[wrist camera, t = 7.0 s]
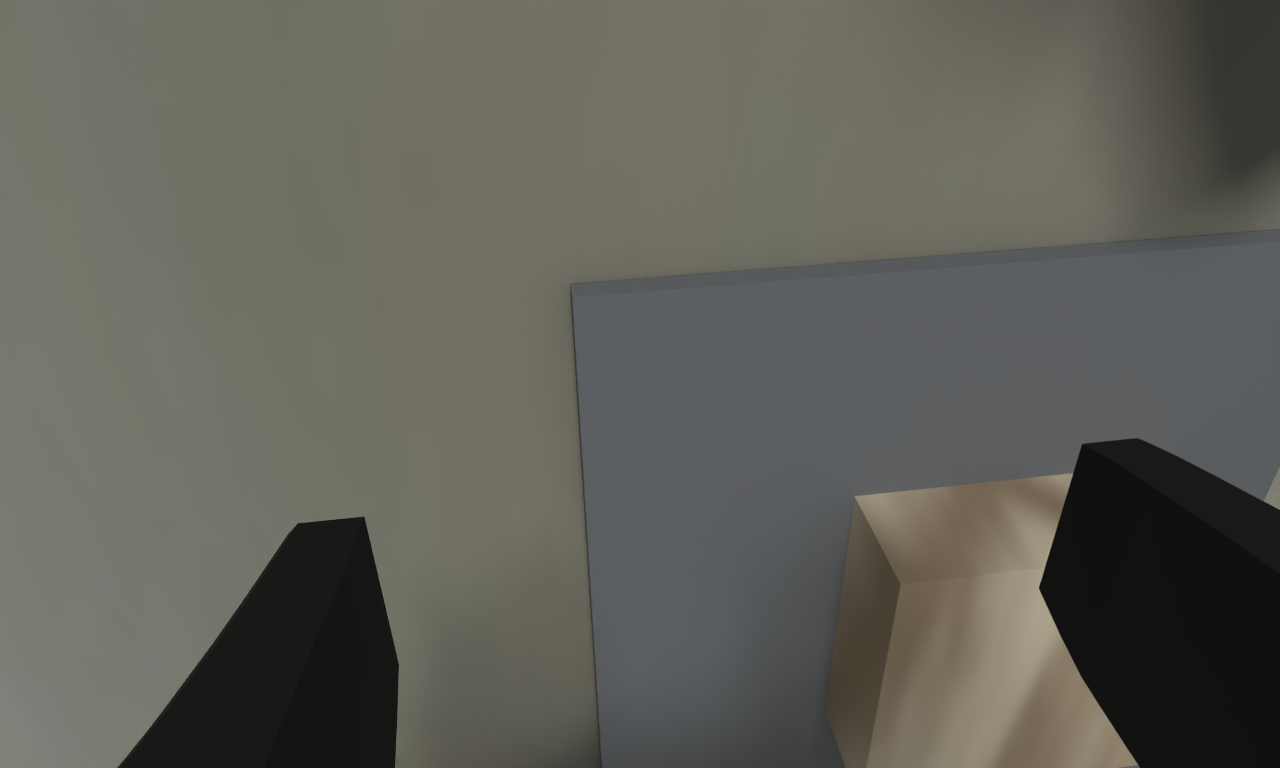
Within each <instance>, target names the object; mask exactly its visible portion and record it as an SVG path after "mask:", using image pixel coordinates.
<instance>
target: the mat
mask: <svg viewBox="0 0 1280 768" xmlns="http://www.w3.org/2000/svg"><path fill="white" fill-rule="evenodd" d="M570 290H571V306H572V322H573V337H574V353H575V368H576V384H577V400H578V415H579V431H580V446H581V462H582V478H583V493H584V509H585V524H586V540H587V556H588V571H589V587H590V602H591V618H592V634H593V649H594V665H595V680H596V696H597V712H598V727H599V743H600V758H601V768H846V767H845V764H844V761H843V759H842V756H841V753H840V751H839V748H838V745H837V742H836V740H835V737H834V734H833V731H832V729H831V726H830V723H829V721H828V718H827V715H826V712H825V704H826V697H827V690H828V683H829V676H830V669H831V661H832V654H833V647H834V640H835V633H836V626H837V619H838V612H839V604H840V597H841V590H842V583H843V576H844V569H845V562H846V555H847V547H848V540H849V533H850V526H851V519H852V512H853V505H854V498H855V496H862V495H872V494H881V493H891V492H900V491H910V490H919V489H929V488H938V487H948V486H957V485H967V484H976V483H986V482H995V481H1005V480H1014V479H1024V478H1033V477H1043V476H1052V475H1062V474H1071V473H1073V472H1074V469H1075V466H1076V462H1077V459H1078V456H1079V452H1080V449H1081V446H1082V444H1084V443H1093V442H1103V441H1113V440H1123V439H1133V438H1139V439H1141V440H1144V441H1146V442H1148V443H1150V444H1152V445H1155V446H1157V447H1159V448H1161V449H1163V450H1165V451H1167V452H1170V453H1172V454H1174V455H1176V456H1178V457H1180V458H1182V459H1184V460H1186V461H1188V462H1190V463H1192V464H1194V465H1196V466H1198V467H1199V468H1201V469H1203V470H1205V471H1207V472H1209V473H1211V474H1213V475H1215V476H1217V477H1219V478H1221V479H1222V480H1224V481H1226V482H1228V483H1230V484H1232V485H1234V486H1236V487H1238V488H1239V489H1241V490H1243V491H1245V492H1247V493H1249V494H1251V495H1253V496H1254V497H1256V498H1258V499H1260V500H1262V501H1264V499H1265V497H1266V495H1267V493H1268V490H1269V488H1270V486H1271V484H1272V482H1273V479H1274V477H1275V475H1276V473H1277V470H1278V468H1279V466H1280V229H1278V230H1265V231H1252V232H1239V233H1226V234H1213V235H1200V236H1187V237H1174V238H1161V239H1148V240H1135V241H1123V242H1110V243H1097V244H1084V245H1071V246H1058V247H1045V248H1032V249H1019V250H1006V251H993V252H980V253H967V254H954V255H941V256H928V257H915V258H903V259H890V260H877V261H864V262H851V263H838V264H825V265H812V266H799V267H786V268H773V269H760V270H747V271H734V272H721V273H708V274H696V275H683V276H670V277H657V278H644V279H631V280H618V281H605V282H592V283H579V284H570ZM1120 768H1140V767H1139V766H1138V765H1135V766H1127V767H1120Z"/></svg>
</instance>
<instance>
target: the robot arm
mask: <svg viewBox="0 0 1280 768" xmlns="http://www.w3.org/2000/svg"><path fill="white" fill-rule="evenodd" d="M1039 590H1040V592H1041V594H1042V597H1043V599H1044V601H1045V603H1046V605H1047V608H1048V610H1049V612H1050V614H1051V616H1052V618H1053V621H1054V623H1055V625H1056V627H1057V629H1058V632H1059V634H1060V636H1061V638H1062V640H1063V642H1064V644H1065V646H1066V648H1067V650H1068V652H1069V654H1070V656H1071V658H1072V660H1073V662H1074V664H1075V666H1076V668H1077V670H1078V672H1079V674H1080V676H1081V677H1082V679H1083V680H1084V682H1085V684H1086V685H1087V687H1088V688H1089V690H1090V692H1091V693H1092V695H1093V696H1094V698H1095V700H1096V701H1097V703H1098V704H1099V706H1100V707H1101V709H1102V710H1103V712H1104V714H1105V715H1106V717H1107V718H1108V720H1109V721H1110V723H1111V724H1112V726H1113V727H1114V729H1115V730H1116V732H1117V734H1118V735H1119V737H1120V738H1121V740H1122V741H1123V743H1124V744H1125V746H1126V747H1127V749H1128V751H1129V752H1130V754H1131V755H1132V757H1133V758H1134V760H1135V761H1136V763H1137V764H1138V766H1139V767H1140V768H1280V510H1279V509H1277V508H1275V507H1273V506H1271V505H1269V504H1267V503H1266V502H1264V501H1262V500H1260V499H1258V498H1256V497H1254V496H1253V495H1251V494H1249V493H1247V492H1245V491H1243V490H1241V489H1239V488H1238V487H1236V486H1234V485H1232V484H1230V483H1228V482H1226V481H1224V480H1222V479H1221V478H1219V477H1217V476H1215V475H1213V474H1211V473H1209V472H1207V471H1205V470H1203V469H1201V468H1199V467H1198V466H1196V465H1194V464H1192V463H1190V462H1188V461H1186V460H1184V459H1182V458H1180V457H1178V456H1176V455H1174V454H1172V453H1170V452H1167V451H1165V450H1163V449H1161V448H1159V447H1157V446H1155V445H1152V444H1150V443H1148V442H1146V441H1144V440H1141V439H1139V438H1133V439H1123V440H1113V441H1103V442H1093V443H1084V444H1082V446H1081V449H1080V452H1079V456H1078V459H1077V462H1076V466H1075V469H1074V472H1073V476H1072V479H1071V482H1070V486H1069V489H1068V492H1067V496H1066V499H1065V502H1064V506H1063V509H1062V512H1061V516H1060V519H1059V522H1058V526H1057V529H1056V532H1055V536H1054V539H1053V542H1052V546H1051V549H1050V552H1049V556H1048V559H1047V562H1046V566H1045V569H1044V572H1043V576H1042V579H1041V582H1040V586H1039ZM398 673H399V663H398V659H397V655H396V651H395V646H394V642H393V638H392V633H391V629H390V625H389V621H388V616H387V612H386V608H385V603H384V599H383V595H382V591H381V586H380V582H379V578H378V573H377V569H376V565H375V561H374V556H373V552H372V548H371V543H370V539H369V535H368V530H367V526H366V522H365V518H364V517H357V518H347V519H337V520H327V521H317V522H308V523H298V524H297V525H296V526H295V527H294V528H293V530H292V531H291V532H290V533H289V534H288V535H287V537H286V538H285V540H284V541H283V543H282V544H281V546H280V547H279V548H278V550H277V551H276V553H275V554H274V556H273V557H272V559H271V560H270V562H269V563H268V565H267V566H266V568H265V569H264V571H263V572H262V574H261V575H260V577H259V578H258V580H257V581H256V583H255V584H254V585H253V587H252V588H251V590H250V591H249V593H248V594H247V596H246V597H245V599H244V600H243V601H242V603H241V604H240V606H239V607H238V609H237V610H236V611H235V613H234V614H233V616H232V617H231V619H230V620H229V621H228V623H227V624H226V626H225V627H224V629H223V630H222V631H221V633H220V634H219V636H218V637H217V638H216V640H215V641H214V643H213V644H212V645H211V647H210V648H209V649H208V651H207V652H206V654H205V655H204V656H203V658H202V659H201V660H200V662H199V663H198V664H197V666H196V667H195V668H194V670H193V671H192V672H191V674H190V675H189V676H188V678H187V679H186V680H185V682H184V683H183V685H182V686H181V687H180V689H179V690H178V691H177V693H176V694H175V695H174V697H173V698H172V699H171V701H170V702H169V703H168V705H167V706H166V707H165V709H164V710H163V711H162V713H161V714H160V715H159V717H158V718H157V719H156V721H155V722H154V723H153V724H152V726H151V727H150V728H149V730H148V731H147V732H146V733H145V735H144V736H143V737H142V738H141V740H140V741H139V742H138V743H137V745H136V746H135V747H134V748H133V749H132V751H131V752H130V753H129V754H128V756H127V757H126V758H125V759H124V761H123V762H122V763H121V764H120V765H119V767H118V768H395V754H396V732H397V705H398Z"/></svg>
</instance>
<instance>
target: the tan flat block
mask: <svg viewBox="0 0 1280 768" xmlns="http://www.w3.org/2000/svg"><path fill="white" fill-rule="evenodd" d="M1072 476H1073V473H1071V474H1062V475H1052V476H1043V477H1033V478H1024V479H1014V480H1005V481H995V482H986V483H976V484H967V485H957V486H948V487H938V488H929V489H919V490H910V491H900V492H891V493H881V494H872V495H862V496H855V498H854V505H853V512H852V519H851V526H850V533H849V540H848V547H847V555H846V562H845V569H844V576H843V583H842V590H841V597H840V604H839V612H838V619H837V626H836V633H835V640H834V647H833V654H832V661H831V669H830V676H829V683H828V690H827V697H826V704H825V712H826V715H827V718H828V721H829V723H830V726H831V729H832V731H833V734H834V737H835V740H836V742H837V745H838V748H839V751H840V753H841V756H842V759H843V761H844V764H845V767H846V768H1120V767H1127V766H1135V765H1138V764H1137V763H1136V761H1135V760H1134V758H1133V757H1132V755H1131V754H1130V752H1129V751H1128V749H1127V747H1126V746H1125V744H1124V743H1123V741H1122V740H1121V738H1120V737H1119V735H1118V734H1117V732H1116V730H1115V729H1114V727H1113V726H1112V724H1111V723H1110V721H1109V720H1108V718H1107V717H1106V715H1105V714H1104V712H1103V710H1102V709H1101V707H1100V706H1099V704H1098V703H1097V701H1096V700H1095V698H1094V696H1093V695H1092V693H1091V692H1090V690H1089V688H1088V687H1087V685H1086V684H1085V682H1084V680H1083V679H1082V677H1081V676H1080V674H1079V672H1078V670H1077V668H1076V666H1075V664H1074V662H1073V660H1072V658H1071V656H1070V654H1069V652H1068V650H1067V648H1066V646H1065V644H1064V642H1063V640H1062V638H1061V636H1060V634H1059V632H1058V629H1057V627H1056V625H1055V623H1054V621H1053V618H1052V616H1051V614H1050V612H1049V610H1048V608H1047V605H1046V603H1045V601H1044V599H1043V597H1042V594H1041V592H1040V590H1039V586H1040V582H1041V579H1042V576H1043V572H1044V569H1045V566H1046V562H1047V559H1048V556H1049V552H1050V549H1051V546H1052V542H1053V539H1054V536H1055V532H1056V529H1057V526H1058V522H1059V519H1060V516H1061V512H1062V509H1063V506H1064V502H1065V499H1066V496H1067V492H1068V489H1069V486H1070V482H1071V479H1072Z"/></svg>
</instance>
